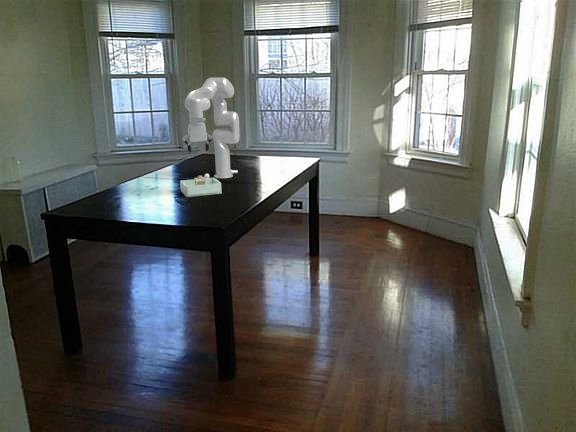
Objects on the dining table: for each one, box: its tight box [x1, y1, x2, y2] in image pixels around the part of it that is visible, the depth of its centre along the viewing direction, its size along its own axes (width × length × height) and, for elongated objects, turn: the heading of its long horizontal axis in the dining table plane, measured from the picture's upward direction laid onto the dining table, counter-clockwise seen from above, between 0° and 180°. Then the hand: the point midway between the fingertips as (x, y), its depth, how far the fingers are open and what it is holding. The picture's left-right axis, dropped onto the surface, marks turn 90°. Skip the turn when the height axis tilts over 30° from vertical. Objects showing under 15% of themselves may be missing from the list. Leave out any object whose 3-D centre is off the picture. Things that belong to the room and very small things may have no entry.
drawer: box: [194, 175, 206, 185], centre depth 299 cm, size 6×6×8 cm
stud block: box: [203, 173, 222, 184], centre depth 318 cm, size 14×12×7 cm
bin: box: [179, 177, 223, 198], centre depth 299 cm, size 20×18×6 cm
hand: (198, 151), depth 294 cm, fingers open, 9 cm apart
